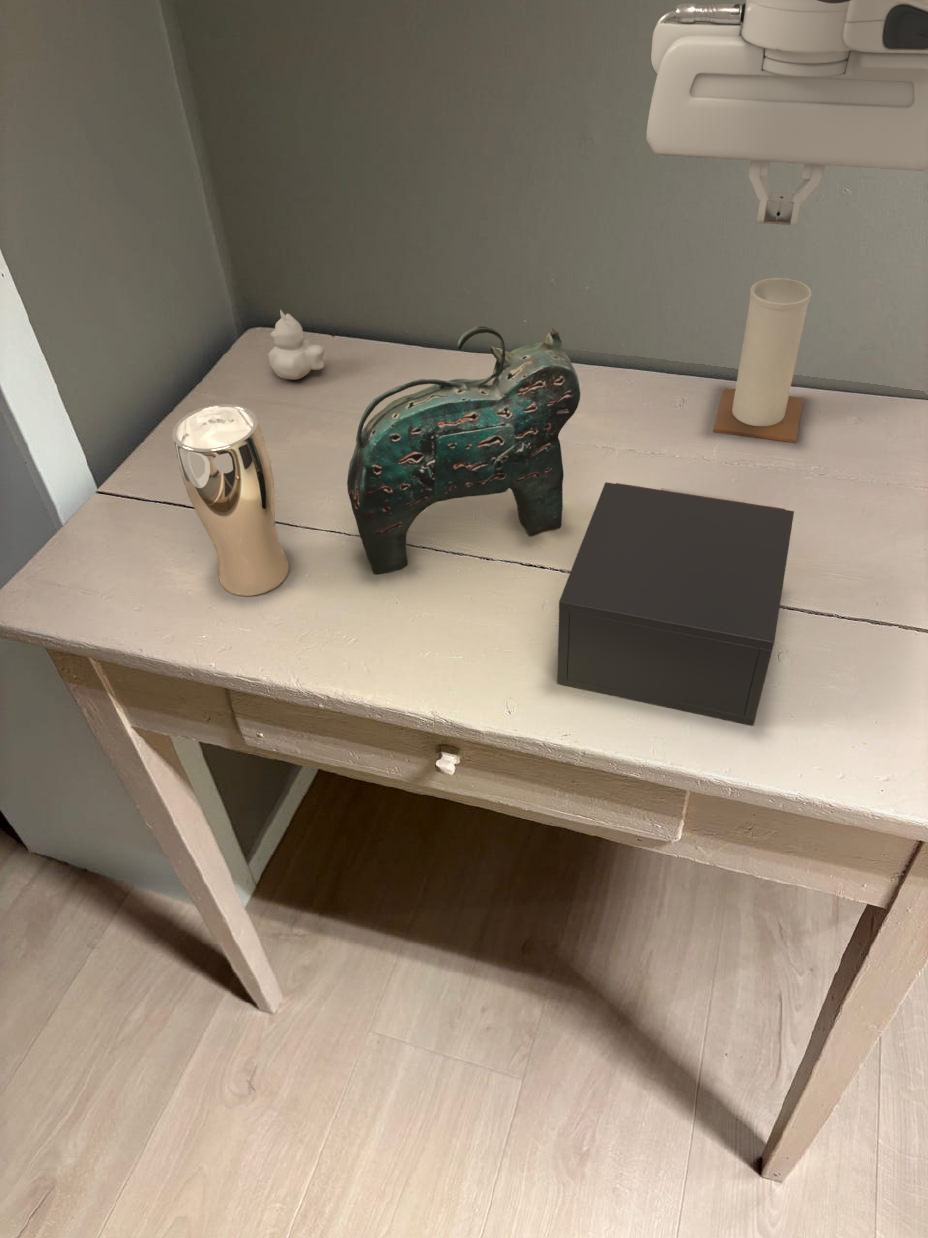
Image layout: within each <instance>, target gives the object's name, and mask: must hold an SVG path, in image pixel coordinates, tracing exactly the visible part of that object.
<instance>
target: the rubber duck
mask: <svg viewBox="0 0 928 1238" xmlns="http://www.w3.org/2000/svg"><path fill="white" fill-rule="evenodd" d="M279 313H280V319H278V321H276V323H275V326H274V330H272V331H271V332H270V337H271V338H272V339H273V343H274V344H275V345H274V346H273V347H272V349H271V350H270V352H269V353H268V354H267V355H268V356H267V357H268V362H269V365H270V367H271V368H272V370H273V372H274V373H275V374H276V375H277V376H278V377H279V378H281V379H284V380H291V381H293V380H295V381H296V380H301V379H302V378H305V376H307V375H308V374H309V373H310V372H311V371H312V370H314V371H318V370H322V369H323V368H324V367H325V362H324V358H323V357H324V354H325V349H324V346H322V345H320V344H312V343H311V341H310V340H309V339H305V332H304V330H303V327H302V325H301V323H300V322H299V321H298V320H297V319H295V317H293V316H292V314H290V313H286V314H285V313H284V311H283V310H282V309H281V308H279Z"/></svg>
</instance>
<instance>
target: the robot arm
mask: <svg viewBox="0 0 928 1238" xmlns="http://www.w3.org/2000/svg"><path fill="white" fill-rule="evenodd" d="M673 18H674V21H669V20H670V19H673ZM650 64H651V67H652V69H653V72H654V73H655V74H656V79H655V83H654V85H653V86H654V87H653V91H652V94H651V101H650V106H649V112H648V118H647V126H646V136H645V139H646V143H647V144H648V145H649V147H650V149H651V151H652V152H653V153H654V154H655V155H659V156H672V157H687V158H688V157H689V158H702V159H703V158H705V159H720V160H734V161H737V160H738V161H749V169H748V179H749V181H750V183H751V186H752V188H753V191H754V192H755V193H754V194H755V196H756V197H757V200H758V201H759V205H758V212H757V217H756V224H757V223H758V224H768V225H769V224H771V225H781V226H793V227H797V226H798V222H799V218H800V213H801V208H802V204H804V203H805V202H806V201H807V199H808V198H809V197H810V195H811V194H812V193H813V192H814V191H815V189H816V188H817V187H818V186H819V185H820V183H822V180H823V176H824V172H825V171H824V170H825V166H831V167H847V168H848V167H849V168H850V167H851V168H864V169H865V168H866V169H880V170H895V171H896V170H898V171H911V172H912V171H913V172H914V171H915V172H928V0H745V2H744V3H717V4H708V5H707V4H705V5H703V4H697V3H695V2H687V3H685V2H684V3H681V4H677V6H676V7H675V9H673V10H670V11H668V12H666V13H664V14H663V15H662V16H661V17H660V18H659V19H658V20H657V22H656V23H655V26H654V28H653V30H652V33H651V45H650ZM773 163H784V164H800V165H803V169H802V175H801V178H802V179H803V181H802V182H801V183H800V185H798V187H797V189H796V190H795V191H794V192H793V193H790V192H778V191H777V192H776V191H773V190H772V188H771V185H770V182H769V180H768V176H769V174H770V171H771V168H772V164H773Z"/></svg>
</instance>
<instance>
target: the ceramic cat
mask: <svg viewBox="0 0 928 1238" xmlns="http://www.w3.org/2000/svg"><path fill="white" fill-rule="evenodd" d="M487 333H488V334H492V335H494V336H495V337H497V338H498V339H499V341H500V343H501V347H496V346H490V352H491V354H492V355H493V357H494V359H496V361H495V363H494V367H493V370H492V374H491V375H489V376H488V377H486V378H481V379H469V378H454V379H449V380H444V379H443V380H441V379H437V378H436V379H433V378H432V379H425V378H423V379H422V378H421V379H416V380H413V381H410V382H406V383H403V384H400V385H398V386H396V387H393V388H391V389H389V390H387V391H385V392H383V393H381V394H380V395H378V396H376V397H375V398H373V400H372V401H371V402H370V403H369V404H368V405H367V406H366V407H365V410H364V411H363V414H362V416H361V418H360V421H359V424H358V428H357V433H356V437H355V447H354V450H353V453H352V457H351V458H350V461H349V466H348V472H347V482H346V485H347V494H348V498H349V501H350V505H351V511H352V513H353V515H354V519H355V523H356V526H357V532H358V534H359V536H360V540H361V543H362V546H363V549H364V551H365V554H366V558H367V560H368V563H369V564H370V568H371V570H372V574H374V575H380V574H386V573H391V572H396V571H398V570H399V571H400V570H402V569H404V568H406V567H407V566H408V565H409V564H408V563H409V561H408V555H407V535H408V532H409V529H410V527H411V526H412V524H414V521H415V520H416V518H418V516H419V515H420V514H421V513H422V512H424V511H425V510H426V509H427V508H429V507H431V506H432V505H434V504H435V503H439V502H444V501H445V502H446V501H449V500H453V499H461V498H467V497H480V496H481V497H482V496H488V495H497V494H503V493H506V492H508V490H509V489H510V490H511V493H512V495H513V498H514V501H515V503H516V508H517V515H518V520H519V523H520V525H521V526H522V527H523V528H524V530H525V531H526V533H527V535H528V537H529V538H530V537H533V536H535V535H538V534H540V533H543V532H547V531H552V530H558V529H561V527H562V522H563V521H562V520H563V508H564V506H563V504H564V503H563V502H564V499H563V496H564V495H563V494H564V493H563V491H564V490H563V484H564V476H565V475H564V474H565V473H564V465H563V457H562V447H561V442H560V438H559V435H560V432H561V430H563V428H564V427H565V425H566V424H567V422H568V421H569V420H570V419H571V418H572V417H573V415H574V414H575V413H576V411H577V409H578V407H579V404H580V401H581V388H580V380H579V376H578V373H577V371H576V369H575V367H574V366H573V363H572V361H571V359H570V358H569V356H568V355H567V353H566V352H565V349H564V347H563V343H562V339H561V337H560V333H559V332H558V331H557V330H555V329H554V328H551V329H549V331H548V333H547V335H546V337H545V339H544V340H543V341H542V342H533V343H530V344H525V345H522V346H519V347H517V348H513V349H512V350H511V351H507V350H506V346H505V341H504V338H503V337H502V334H501V333H500V332H499V331H498V330H496V329H494V328H493V327H489V326H484V325H478V326H475V327H472V328H470V329H468V330H466V331H465V332H464V333H463V334H462V335H461V337H459V340H458V342H457V345H456V348H457V349H458V350H459V351H462V350H461V349H462V348H463V346H464V345H465V343H466V342H467V341H469V339H471V338H472V337H473V336H475V335H479V334H487ZM423 385H431V386H428V387H426V388H424V389H422V390H419V391H417V392H414V393H411V394H407V395H404V396H401V397H399V398H396V399H394V400H393V401H391V402H389V403H388V404H387V405H386V406H385V407H384V408H383V409H382V410H380V411H378V412H377V413H376V414H375V415H373V416H372V418H371V419H370V420H369V421H368V422H367V424H366V425H365V423H366V421H367V420H368V418H369V416H370V415H371V414H372V412H373V411H374V410H375V408H376V407H377V406H378V405H379V404H380V403H381V402H383V401H384V400H385V399H387V398H389V397H392V396H394V395H396V394H398V393H400V392H403V391H405V390H407V389H410V388H413V387H418V386H423ZM364 426H365V427H364Z"/></svg>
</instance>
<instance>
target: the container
mask: <svg viewBox="0 0 928 1238" xmlns="http://www.w3.org/2000/svg"><path fill="white" fill-rule="evenodd" d="M749 291H750V292H749V297H750V298H749V305H748V311H747V316H746V322H745V323H746V325H745V329H744V335H743V341H742V348H741V354H740V359H739V364H738V372H737V376H736V377H737V378H736V383H735V395H734V401H733V407H732V413H733V415H734V417H735V418H736V419H738V420H739V421H741V422H743V423H745V424H748V425H752V426H771V425H775V424H777V423H779V422H780V421H782V420H783V418H784V416H785V412H786V407H787V402H788V397H789V396H790V394H791V393H790V392H791V387H792V384H793V379H794V373H795V368H796V363H797V359H798V355H799V350H800V345H801V340H802V336H803V330H804V327H805V326H804V325H805V320H806V315H807V311H808V307H809V303H810V301H811V298H812V290H811V288H810V287H809V286H808V285H806V284H805V283H803V282H801V281H799V280H794V279H790V278H784V277H783V278H782V277H772V278H764V279H761V280H759V281H758V280H757V282H755V283H754V284H752V286H751V287H750V290H749Z"/></svg>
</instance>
